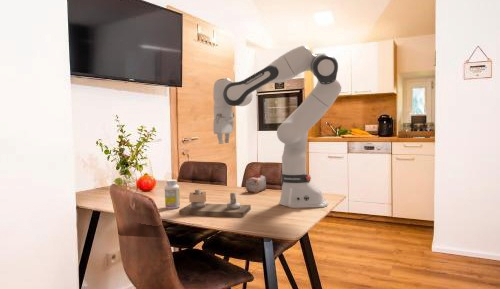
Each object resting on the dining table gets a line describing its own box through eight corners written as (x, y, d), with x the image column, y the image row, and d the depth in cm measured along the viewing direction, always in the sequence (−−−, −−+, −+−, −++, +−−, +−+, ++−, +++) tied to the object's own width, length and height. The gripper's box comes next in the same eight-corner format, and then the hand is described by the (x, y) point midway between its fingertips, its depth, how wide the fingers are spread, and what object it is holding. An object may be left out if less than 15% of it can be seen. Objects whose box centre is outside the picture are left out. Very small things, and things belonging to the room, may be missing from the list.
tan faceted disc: (205, 198, 161) (205, 191, 161) (205, 201, 154) (205, 194, 154) (190, 199, 160) (189, 192, 160) (189, 202, 153) (189, 195, 153)
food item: (257, 194, 195) (257, 176, 195) (244, 193, 199) (244, 175, 198) (267, 189, 208) (267, 172, 207) (254, 188, 211) (254, 172, 211)
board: (250, 209, 160) (250, 188, 159) (243, 217, 146) (242, 194, 145) (191, 207, 166) (191, 187, 165) (179, 215, 152) (178, 192, 152)
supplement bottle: (173, 205, 172) (172, 178, 171) (182, 207, 167) (182, 179, 167) (162, 208, 166) (161, 180, 166) (171, 209, 162) (170, 181, 161)
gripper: (223, 113, 157) (223, 144, 158) (235, 114, 177) (236, 142, 178) (209, 113, 159) (210, 144, 159) (223, 114, 179) (223, 142, 179)
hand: (223, 143), depth 169 cm, fingers open, 8 cm apart
